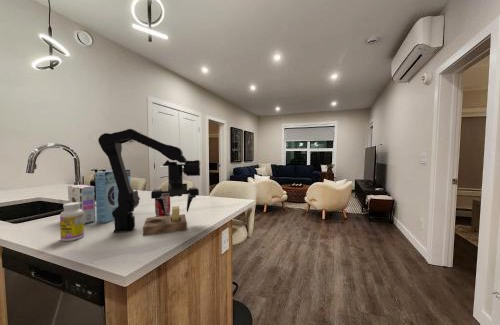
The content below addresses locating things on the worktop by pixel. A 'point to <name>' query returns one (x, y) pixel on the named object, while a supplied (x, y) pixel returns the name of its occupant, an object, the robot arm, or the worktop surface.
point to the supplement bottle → (71, 222)
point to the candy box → (84, 200)
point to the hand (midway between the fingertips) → (176, 212)
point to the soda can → (159, 209)
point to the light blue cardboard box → (106, 195)
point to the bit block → (164, 224)
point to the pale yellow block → (175, 213)
